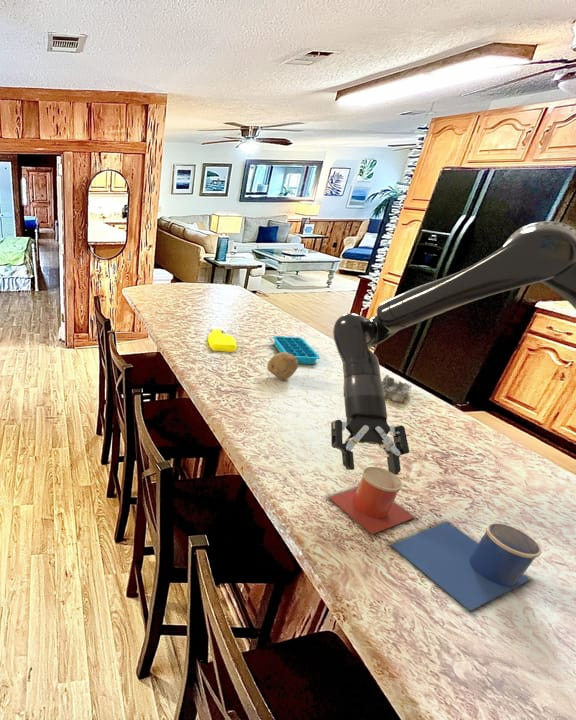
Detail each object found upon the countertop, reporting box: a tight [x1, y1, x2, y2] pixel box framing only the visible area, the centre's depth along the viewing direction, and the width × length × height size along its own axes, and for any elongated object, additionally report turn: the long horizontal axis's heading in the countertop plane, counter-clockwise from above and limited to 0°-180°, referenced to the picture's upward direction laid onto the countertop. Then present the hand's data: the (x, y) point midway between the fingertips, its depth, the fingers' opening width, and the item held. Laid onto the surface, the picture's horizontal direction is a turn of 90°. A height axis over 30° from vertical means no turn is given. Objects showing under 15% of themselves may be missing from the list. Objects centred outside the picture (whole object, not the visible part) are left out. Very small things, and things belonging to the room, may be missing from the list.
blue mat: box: [390, 521, 530, 612], centre depth 70 cm, size 16×13×1 cm
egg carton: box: [381, 374, 412, 403], centre depth 123 cm, size 11×8×4 cm
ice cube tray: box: [272, 335, 321, 365], centre depth 151 cm, size 12×20×3 cm, turn 173°
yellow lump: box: [207, 326, 238, 353], centre depth 163 cm, size 3×11×24 cm
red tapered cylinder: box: [353, 466, 403, 518], centre depth 80 cm, size 7×7×8 cm
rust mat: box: [328, 487, 415, 535], centre depth 81 cm, size 12×10×1 cm
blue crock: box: [469, 522, 543, 586], centre depth 67 cm, size 7×7×8 cm
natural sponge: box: [267, 352, 299, 381], centre depth 131 cm, size 9×9×10 cm
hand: (371, 472), depth 82 cm, fingers open, 8 cm apart
